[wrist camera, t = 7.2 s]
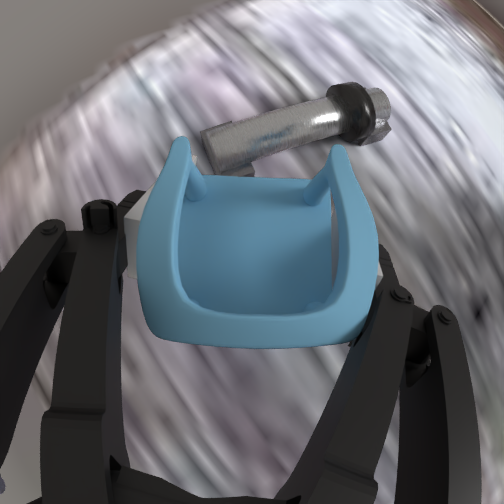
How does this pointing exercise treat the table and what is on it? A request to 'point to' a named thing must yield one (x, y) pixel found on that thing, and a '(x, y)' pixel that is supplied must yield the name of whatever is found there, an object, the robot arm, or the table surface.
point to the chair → (255, 257)
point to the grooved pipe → (298, 128)
